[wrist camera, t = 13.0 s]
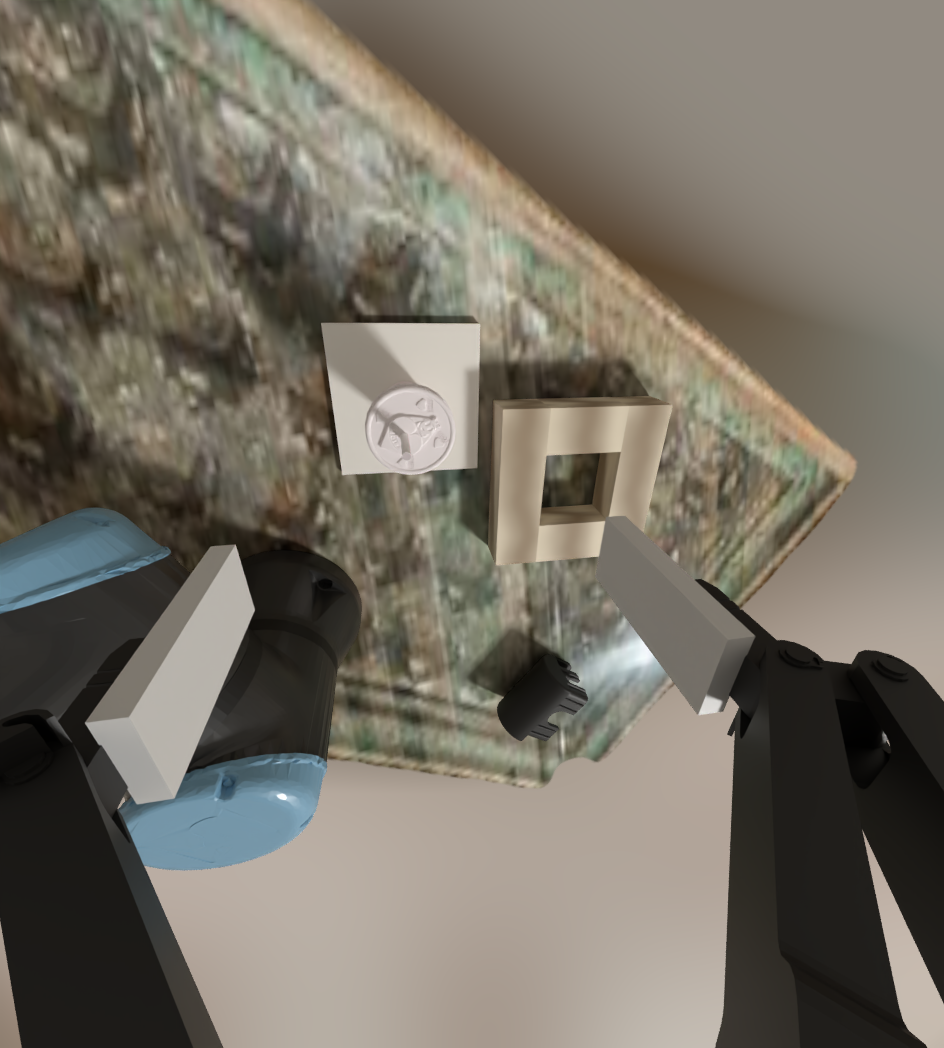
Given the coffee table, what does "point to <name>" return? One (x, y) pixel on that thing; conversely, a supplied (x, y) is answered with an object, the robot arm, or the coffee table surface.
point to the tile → (394, 356)
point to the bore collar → (558, 429)
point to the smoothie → (410, 428)
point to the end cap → (541, 699)
